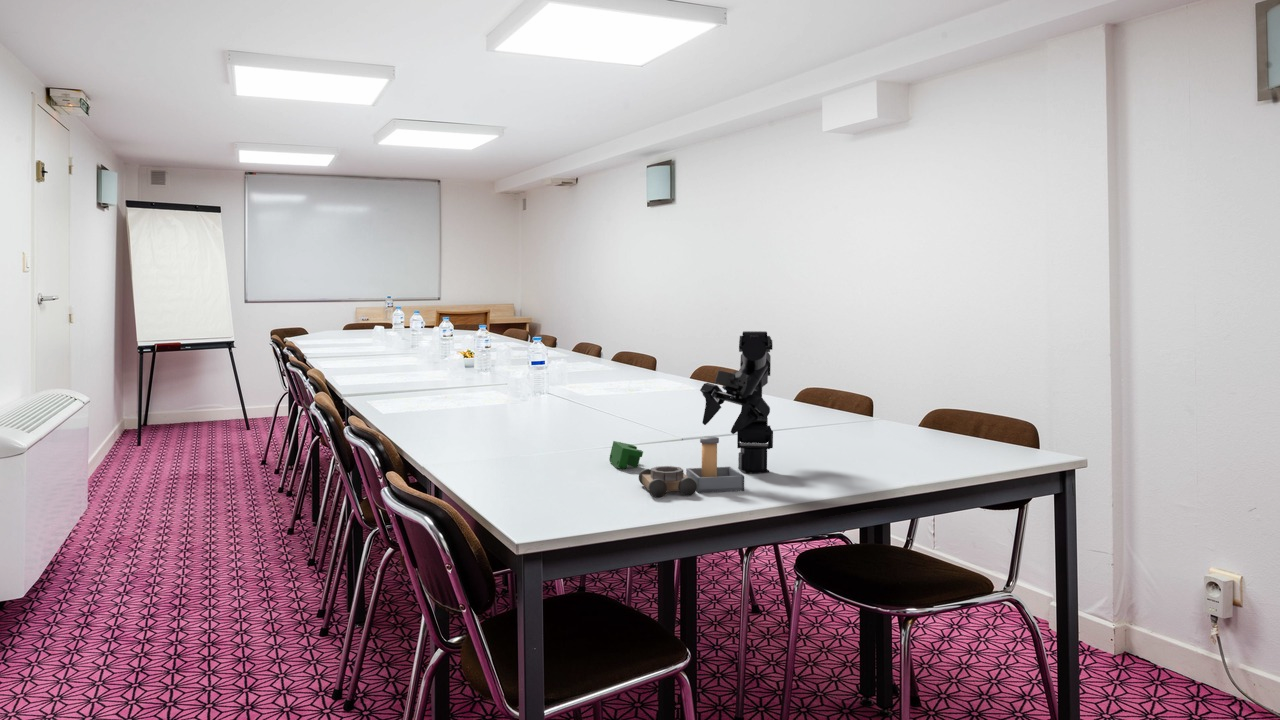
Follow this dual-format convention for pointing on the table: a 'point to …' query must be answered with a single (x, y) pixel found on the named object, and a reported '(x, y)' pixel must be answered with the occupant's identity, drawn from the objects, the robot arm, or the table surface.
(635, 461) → the green block
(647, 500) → the table surface
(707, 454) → the pin
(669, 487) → the trolley
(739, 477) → the tray
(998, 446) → the table surface
